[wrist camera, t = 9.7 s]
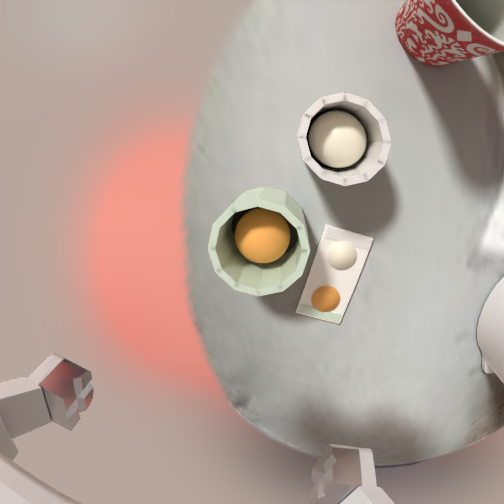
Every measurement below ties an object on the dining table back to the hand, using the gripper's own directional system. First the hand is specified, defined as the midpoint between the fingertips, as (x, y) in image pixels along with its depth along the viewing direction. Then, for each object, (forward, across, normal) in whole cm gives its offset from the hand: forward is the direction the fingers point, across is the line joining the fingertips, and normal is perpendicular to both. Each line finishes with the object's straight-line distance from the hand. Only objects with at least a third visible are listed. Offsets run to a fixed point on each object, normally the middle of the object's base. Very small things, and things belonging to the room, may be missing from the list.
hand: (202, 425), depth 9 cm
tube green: (+24, 0, 0) cm, 24 cm away
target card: (+24, -8, +3) cm, 26 cm away
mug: (+25, -11, -26) cm, 37 cm away
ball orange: (+24, 0, 0) cm, 24 cm away
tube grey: (+24, -4, -10) cm, 26 cm away
